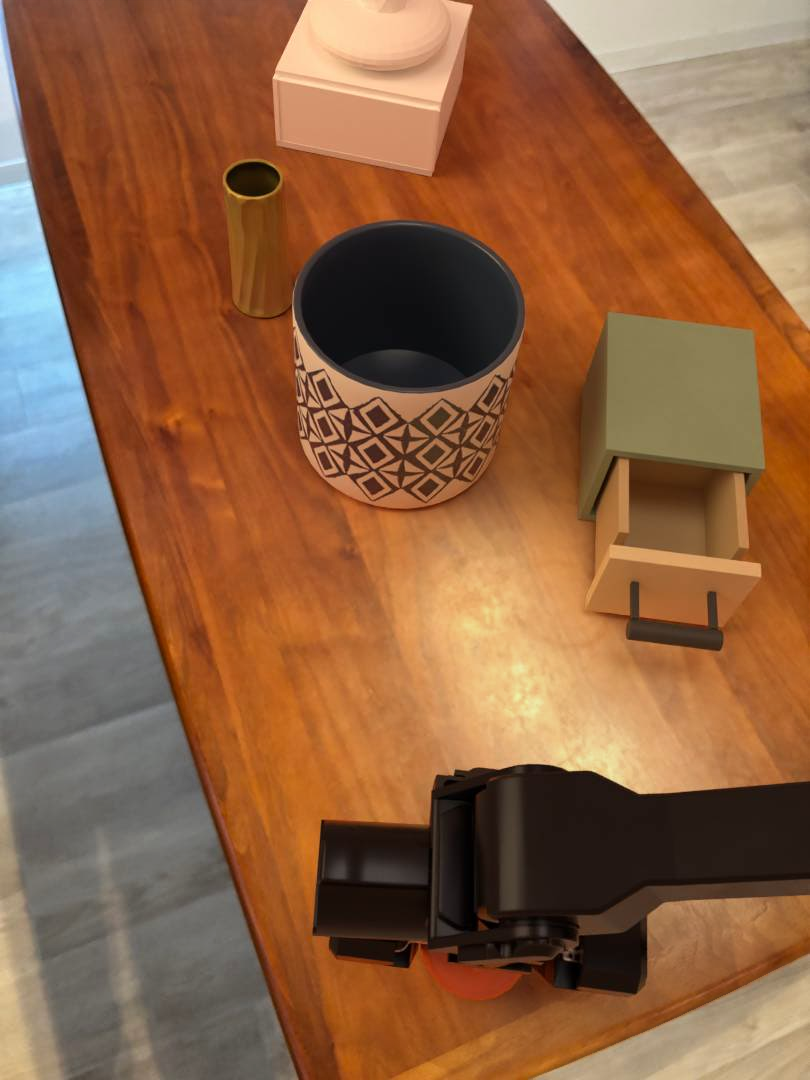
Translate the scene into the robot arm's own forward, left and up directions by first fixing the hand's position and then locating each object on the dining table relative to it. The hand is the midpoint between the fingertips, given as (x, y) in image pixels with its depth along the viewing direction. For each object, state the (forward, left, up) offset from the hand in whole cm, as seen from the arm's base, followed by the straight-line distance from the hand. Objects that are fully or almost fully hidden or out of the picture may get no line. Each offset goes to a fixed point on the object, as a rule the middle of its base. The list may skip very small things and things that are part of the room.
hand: (472, 943), depth 68 cm
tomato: (0, 0, -2) cm, 2 cm away
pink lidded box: (+18, -87, -2) cm, 89 cm away
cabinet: (-13, -43, -2) cm, 45 cm away
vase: (+25, -57, -2) cm, 63 cm away
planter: (+10, -43, -2) cm, 45 cm away
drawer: (-13, -31, -1) cm, 34 cm away
